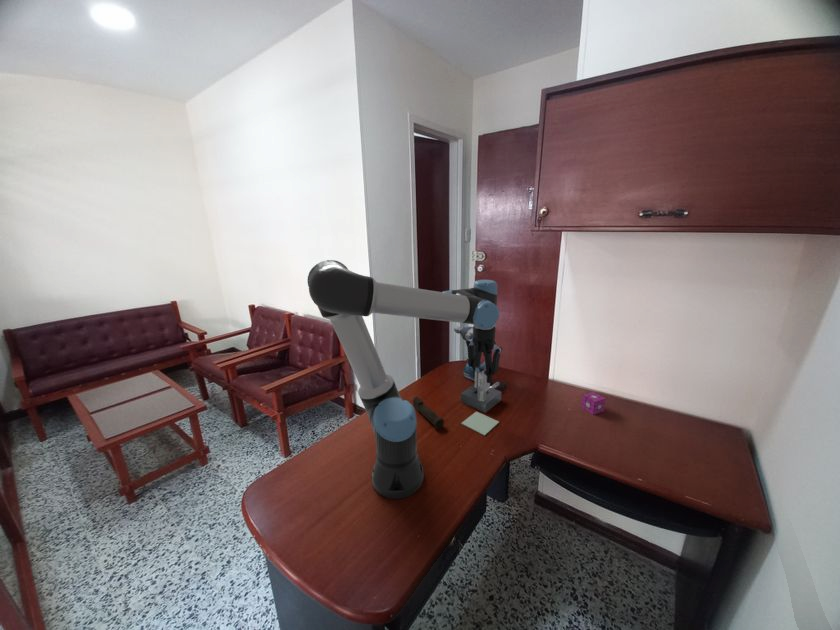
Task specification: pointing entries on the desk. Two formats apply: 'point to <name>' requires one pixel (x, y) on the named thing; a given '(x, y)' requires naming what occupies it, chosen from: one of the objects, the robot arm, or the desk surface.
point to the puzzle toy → (593, 403)
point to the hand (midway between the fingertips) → (482, 387)
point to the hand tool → (428, 413)
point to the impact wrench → (466, 335)
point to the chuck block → (484, 406)
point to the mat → (480, 423)
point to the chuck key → (481, 381)
